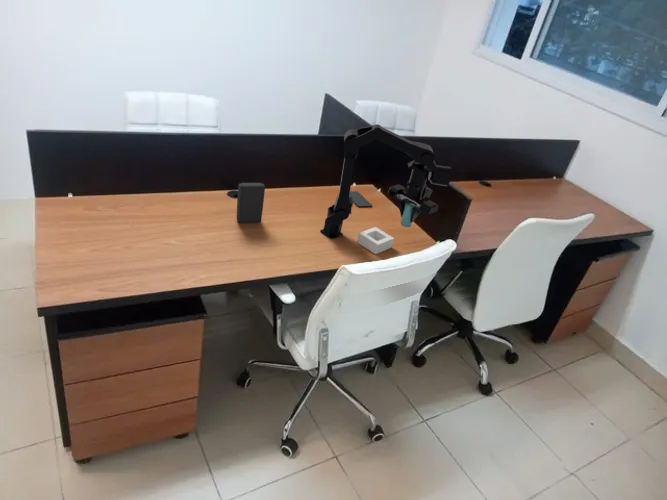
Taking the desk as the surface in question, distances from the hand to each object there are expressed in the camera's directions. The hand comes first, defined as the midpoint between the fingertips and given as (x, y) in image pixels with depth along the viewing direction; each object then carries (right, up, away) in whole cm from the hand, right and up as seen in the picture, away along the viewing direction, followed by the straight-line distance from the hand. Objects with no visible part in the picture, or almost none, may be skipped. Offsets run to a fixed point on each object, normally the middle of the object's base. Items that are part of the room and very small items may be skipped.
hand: (406, 219), depth 176 cm
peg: (0, -2, +1) cm, 2 cm away
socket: (-12, -9, +2) cm, 15 cm away
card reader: (-58, -1, +2) cm, 59 cm away
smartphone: (-16, +10, +34) cm, 40 cm away
